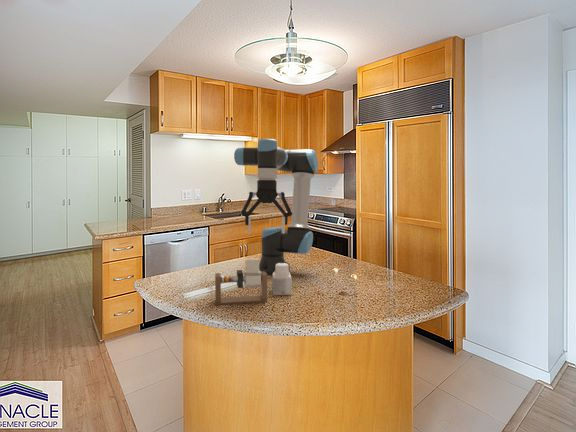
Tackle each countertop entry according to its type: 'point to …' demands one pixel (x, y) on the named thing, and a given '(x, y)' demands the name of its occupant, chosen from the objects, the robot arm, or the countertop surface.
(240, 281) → the dark grey block
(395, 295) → the countertop surface
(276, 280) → the container
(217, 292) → the rod stand
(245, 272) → the stepped block with cap
